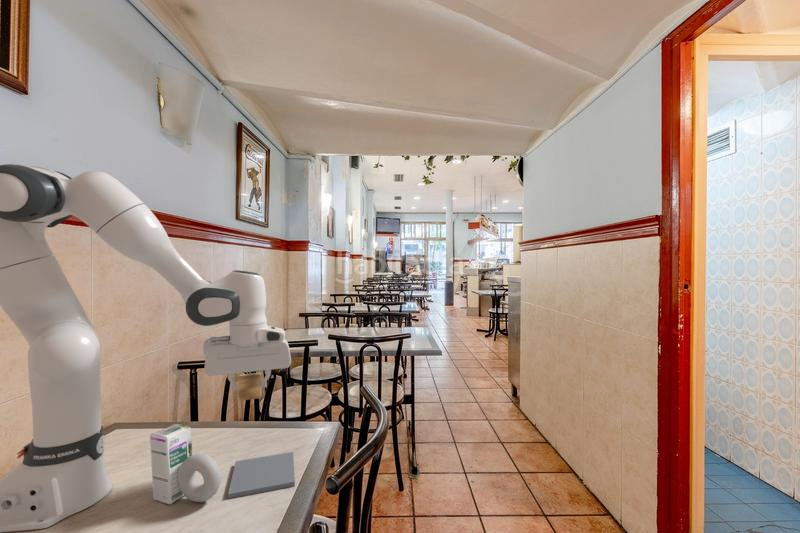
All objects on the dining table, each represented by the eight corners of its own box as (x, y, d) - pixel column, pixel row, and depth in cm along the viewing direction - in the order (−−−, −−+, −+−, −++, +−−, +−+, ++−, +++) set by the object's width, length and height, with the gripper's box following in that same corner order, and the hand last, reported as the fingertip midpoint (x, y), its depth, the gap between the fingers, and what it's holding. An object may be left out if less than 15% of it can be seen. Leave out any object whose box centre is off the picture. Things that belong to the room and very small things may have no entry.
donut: (225, 498, 80) (224, 453, 80) (213, 509, 77) (213, 461, 76) (186, 492, 82) (186, 448, 82) (173, 502, 79) (173, 456, 79)
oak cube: (238, 400, 90) (238, 380, 90) (240, 394, 95) (240, 374, 95) (260, 398, 92) (259, 378, 92) (261, 391, 96) (260, 372, 96)
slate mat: (228, 498, 80) (227, 494, 80) (235, 465, 93) (235, 461, 93) (294, 486, 84) (294, 481, 84) (293, 455, 98) (293, 451, 98)
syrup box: (169, 505, 78) (167, 437, 78) (151, 499, 80) (149, 433, 80) (194, 490, 83) (192, 426, 83) (177, 484, 85) (174, 422, 85)
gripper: (200, 340, 87) (202, 398, 87) (290, 333, 93) (291, 387, 93) (205, 335, 93) (207, 389, 93) (289, 329, 99) (291, 379, 99)
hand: (250, 388), depth 93 cm, fingers closed on oak cube, 5 cm apart
